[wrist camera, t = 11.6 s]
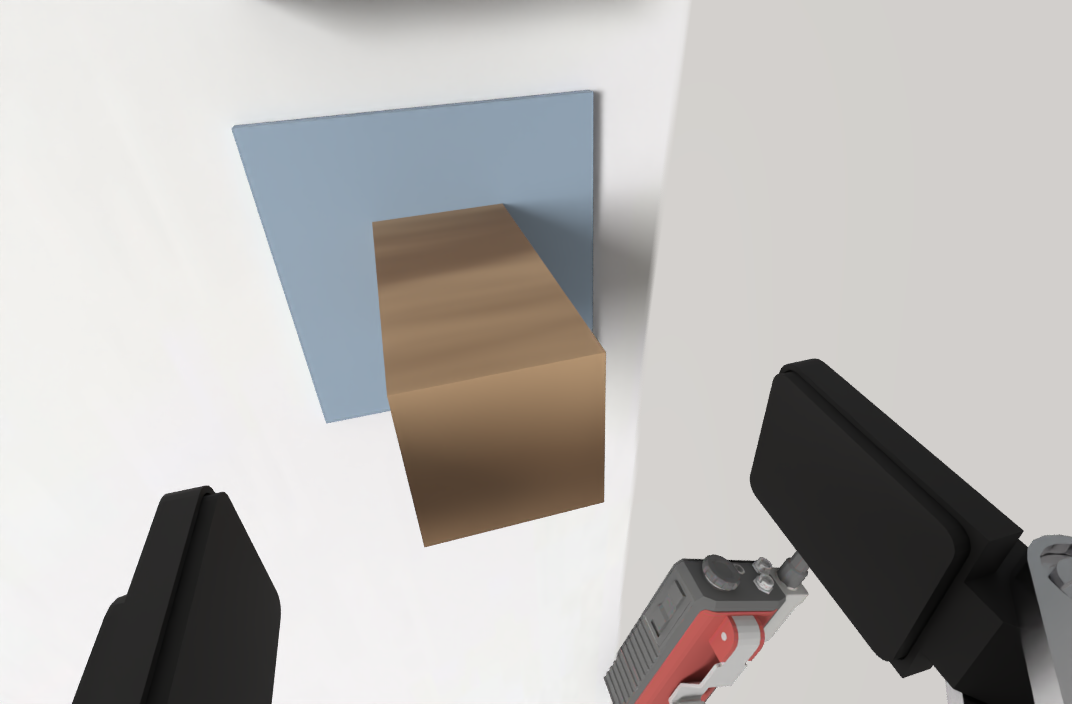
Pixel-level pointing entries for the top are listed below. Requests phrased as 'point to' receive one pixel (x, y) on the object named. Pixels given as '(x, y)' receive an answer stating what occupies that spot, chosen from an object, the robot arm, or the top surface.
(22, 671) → the top surface
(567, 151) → the pad
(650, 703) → the walkie-talkie
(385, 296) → the plug
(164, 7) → the top surface
